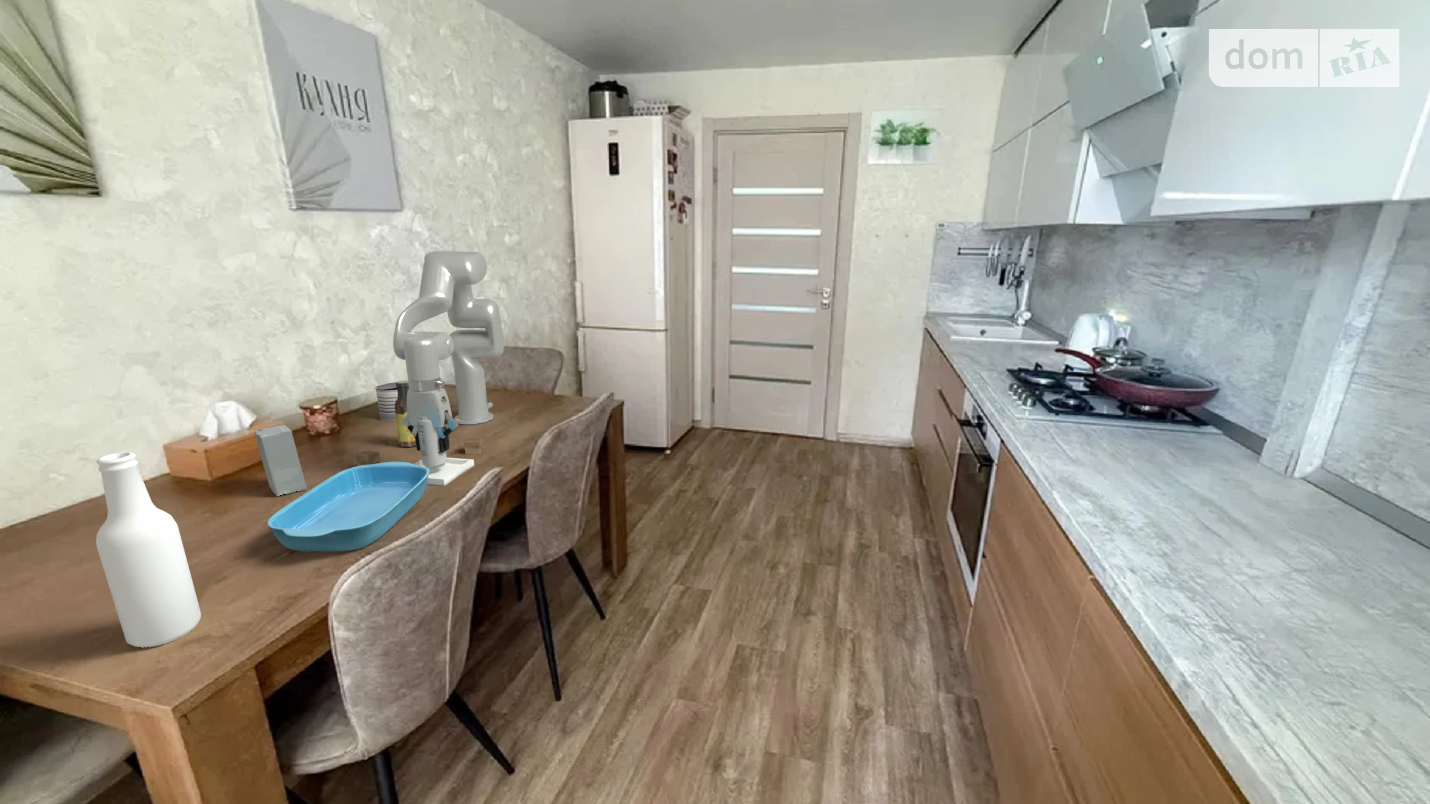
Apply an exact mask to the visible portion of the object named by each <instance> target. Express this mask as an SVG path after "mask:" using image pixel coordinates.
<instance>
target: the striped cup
mask: <svg viewBox="0 0 1430 804" xmlns="http://www.w3.org/2000/svg"><path fill="white" fill-rule="evenodd" d="M396 382H397V381H396ZM396 382H395V381H394V382H388V383H383V384H380V385H376V386H375V387H374V389H375V392H376V399H377V404H378V406H377V407H378V412H379V419H380V421H386V422H396V416H395V402H396V400H397V398H398V392H397V387H396Z"/></svg>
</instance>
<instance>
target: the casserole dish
mask: <svg viewBox="0 0 1430 804" xmlns="http://www.w3.org/2000/svg"><path fill="white" fill-rule="evenodd" d="M414 464H415V463H411V462H406V461H386V462H381V463H378V464H372V465H362V466H357V465H356V466H353V467H350V468H347V469H344V470H342V471H339V472H337V473H335V474H334V475H331V476H330V477H328V478H327V479H326V480H324V481H323V482H321V483H319V484H318V485H316V486H314V487H312V489H310V490H309V491H306V492H305V493H303V494H302V495H301V496H299V497H297V498H296V499H294V500H293V501H292V502H291V501H290V503H288V504H286V505H284V507H282V508H280V509H279V510H278V511H276V512H275V513H274V514H273V515H272V516H271V517H270V518H269V519H268V520H267V527H268V528H269V530H270V531H271V532H272V534H273V535H274V537H275V538H276V539H277V540H278V541H279V542H280V544H281V545H283V546H284V547H285V548H287V549H289V550H293V551H296V552H310V551H313V552H315V553H316V552H317V551H318V552H350V550H351V551H356V550H360V549H362V548H365V547H367V546H369V545H371V544H372V543H374V542H376V541H377V540H379V539H380V538H381V537H383V536H384V535H385V534H386V533H388V531H389V530H391V528H392V527H393V526H395V525H396V524H397V522H399V521H400V520H401V519H402V518H403V517H404V516H405V515H406V514H407V513H408V512H409V511H410V510H411V509H412V508H413V507H414V506H415V505H416V504H417V503H418V501H420V500H421V499H422V497H423V495H424V493H425V491H426V487H427V485H428V484H427V480H428V475H429V469H428V468H426V467H424V466H419V465H414Z"/></svg>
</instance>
